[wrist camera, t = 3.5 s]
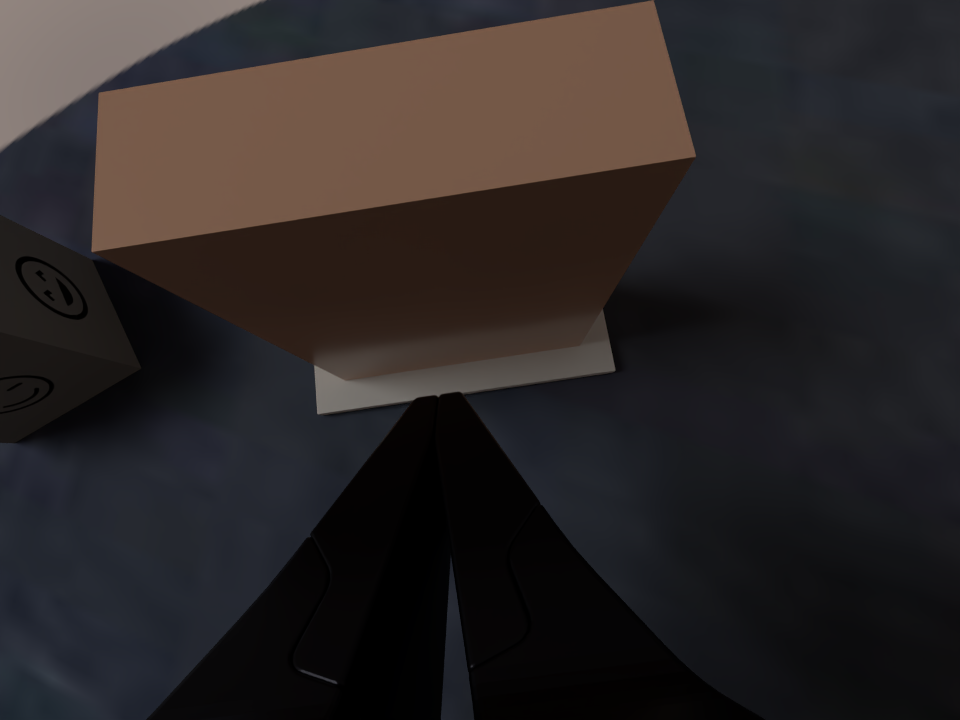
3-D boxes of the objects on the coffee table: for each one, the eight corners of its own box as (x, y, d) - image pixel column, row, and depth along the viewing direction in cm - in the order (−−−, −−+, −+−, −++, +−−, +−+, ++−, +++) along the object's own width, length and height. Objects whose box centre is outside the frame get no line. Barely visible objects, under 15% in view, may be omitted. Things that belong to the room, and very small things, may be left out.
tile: (579, 345, 16) (696, 157, 6) (344, 380, 16) (91, 251, 6) (565, 271, 16) (650, -11, 7) (338, 305, 17) (98, 81, 7)
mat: (612, 372, 16) (615, 370, 16) (322, 415, 16) (317, 414, 16) (547, 54, 19) (548, 45, 18) (301, 95, 19) (296, 87, 19)
